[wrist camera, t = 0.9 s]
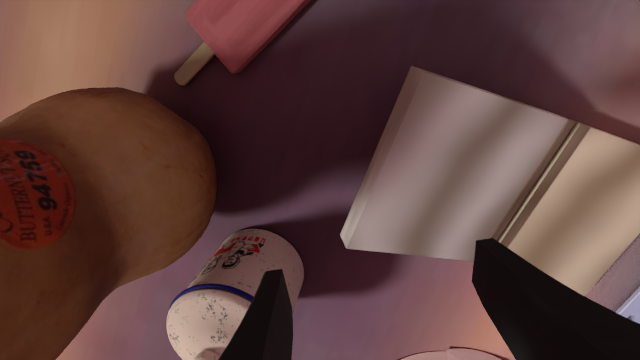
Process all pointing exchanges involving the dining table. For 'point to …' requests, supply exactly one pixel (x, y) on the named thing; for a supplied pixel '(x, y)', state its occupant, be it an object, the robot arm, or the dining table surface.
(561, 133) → the beige flat square block
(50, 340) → the butternut squash
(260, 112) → the dining table surface
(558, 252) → the laid board
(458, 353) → the mauve lumpy shape
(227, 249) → the teacup with lid
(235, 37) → the popsicle
